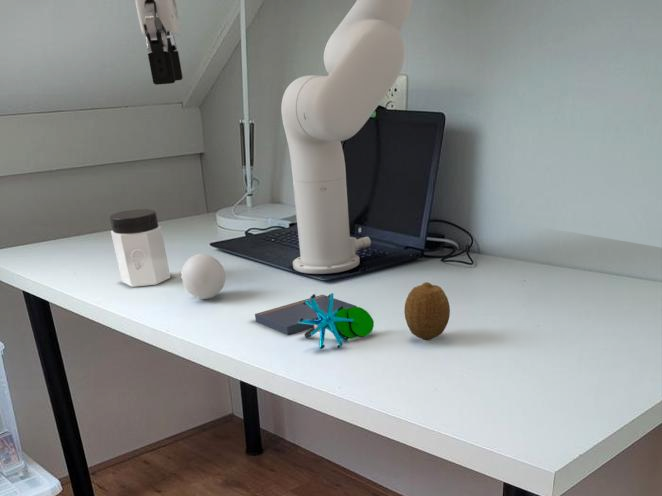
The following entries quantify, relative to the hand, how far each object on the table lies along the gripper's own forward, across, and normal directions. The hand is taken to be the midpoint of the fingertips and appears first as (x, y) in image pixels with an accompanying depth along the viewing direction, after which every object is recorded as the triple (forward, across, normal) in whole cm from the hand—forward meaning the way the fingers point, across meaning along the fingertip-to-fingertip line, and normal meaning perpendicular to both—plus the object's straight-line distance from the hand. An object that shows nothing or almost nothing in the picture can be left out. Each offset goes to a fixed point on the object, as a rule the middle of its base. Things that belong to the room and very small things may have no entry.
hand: (168, 82), depth 115 cm
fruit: (+33, -34, -34) cm, 58 cm away
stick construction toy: (+33, -30, -21) cm, 49 cm away
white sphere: (+33, -4, 0) cm, 33 cm away
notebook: (+33, -20, -17) cm, 42 cm away
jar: (+33, +10, +12) cm, 36 cm away
